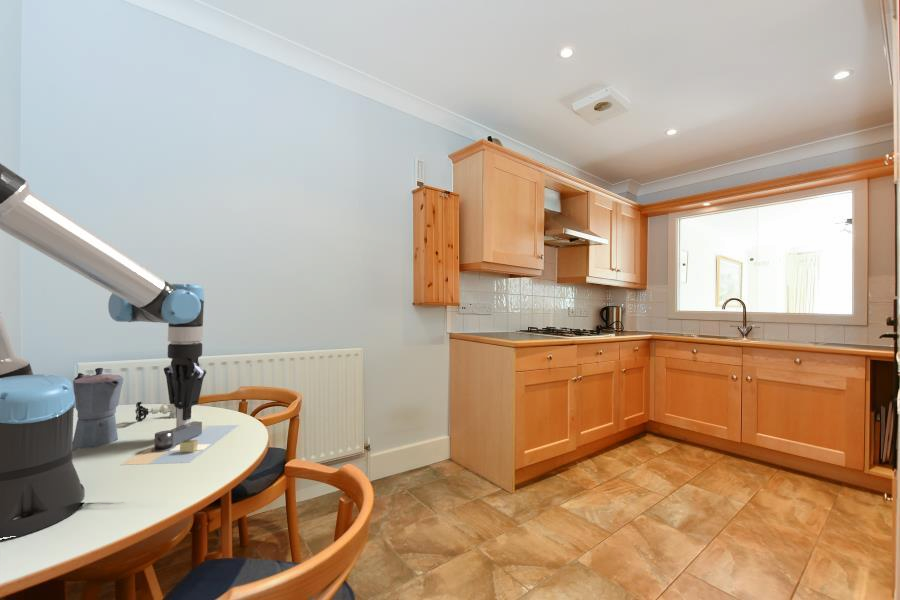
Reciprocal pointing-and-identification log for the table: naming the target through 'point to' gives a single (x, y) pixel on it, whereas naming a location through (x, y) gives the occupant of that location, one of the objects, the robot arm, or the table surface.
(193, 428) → the latch bar
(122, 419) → the table surface
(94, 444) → the moka pot
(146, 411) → the valve
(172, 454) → the door panel
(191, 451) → the block
